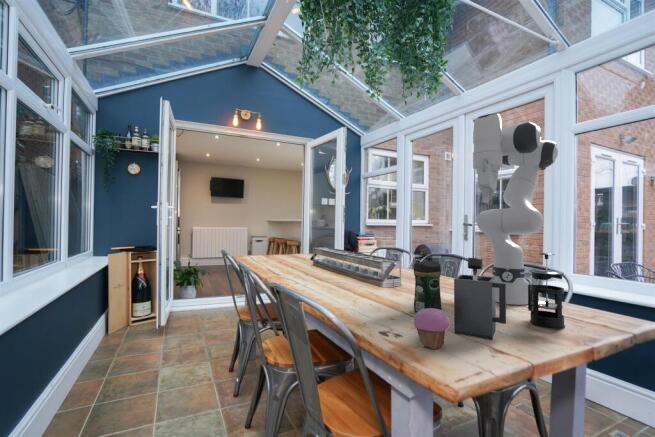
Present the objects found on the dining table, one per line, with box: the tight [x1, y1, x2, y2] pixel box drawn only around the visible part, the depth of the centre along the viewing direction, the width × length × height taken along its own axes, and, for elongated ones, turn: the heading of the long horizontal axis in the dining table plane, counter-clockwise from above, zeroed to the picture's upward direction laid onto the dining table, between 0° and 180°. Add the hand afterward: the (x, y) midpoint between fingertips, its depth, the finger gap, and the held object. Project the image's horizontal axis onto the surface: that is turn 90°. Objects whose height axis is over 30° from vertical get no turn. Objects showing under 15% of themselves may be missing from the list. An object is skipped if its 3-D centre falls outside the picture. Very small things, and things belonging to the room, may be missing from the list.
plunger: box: [467, 257, 483, 280], centre depth 95 cm, size 8×8×16 cm
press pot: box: [453, 273, 507, 341], centre depth 95 cm, size 10×13×16 cm
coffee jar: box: [413, 260, 443, 313], centre depth 117 cm, size 10×8×19 cm
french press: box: [527, 252, 566, 330], centre depth 103 cm, size 12×9×23 cm
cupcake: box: [413, 308, 450, 350], centre depth 84 cm, size 9×9×10 cm
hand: (487, 203), depth 107 cm, fingers open, 8 cm apart
